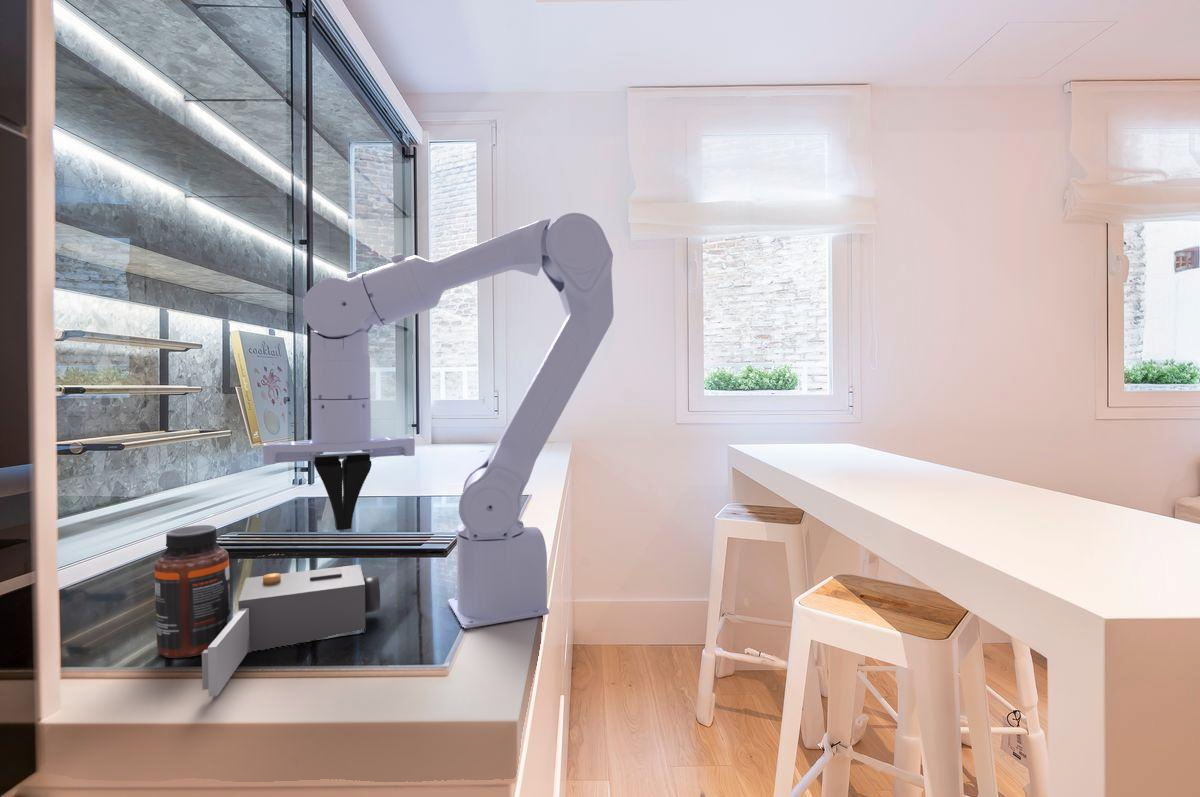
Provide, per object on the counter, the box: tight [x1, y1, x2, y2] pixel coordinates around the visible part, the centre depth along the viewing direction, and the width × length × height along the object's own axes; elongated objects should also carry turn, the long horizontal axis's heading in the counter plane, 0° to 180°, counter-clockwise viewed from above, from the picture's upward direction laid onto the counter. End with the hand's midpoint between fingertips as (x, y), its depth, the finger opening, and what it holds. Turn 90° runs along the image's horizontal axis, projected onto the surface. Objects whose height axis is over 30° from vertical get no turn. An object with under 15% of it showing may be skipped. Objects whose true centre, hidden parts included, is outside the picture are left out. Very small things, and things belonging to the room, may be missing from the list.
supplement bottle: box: [154, 524, 232, 659], centre depth 59 cm, size 6×6×11 cm
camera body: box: [237, 564, 381, 654], centre depth 63 cm, size 13×7×6 cm, turn 115°
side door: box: [201, 608, 250, 698], centre depth 53 cm, size 8×1×4 cm, turn 14°
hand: (343, 527), depth 65 cm, fingers closed
